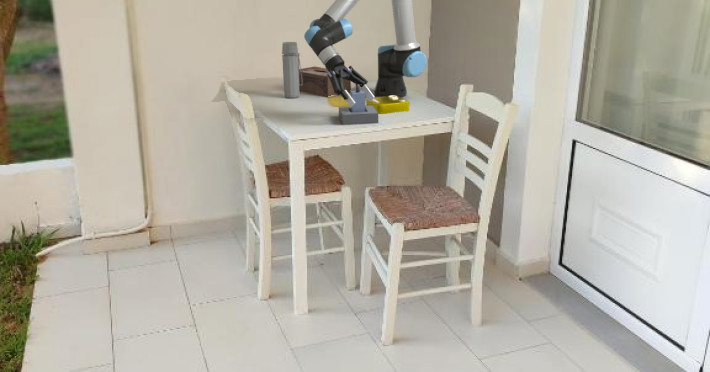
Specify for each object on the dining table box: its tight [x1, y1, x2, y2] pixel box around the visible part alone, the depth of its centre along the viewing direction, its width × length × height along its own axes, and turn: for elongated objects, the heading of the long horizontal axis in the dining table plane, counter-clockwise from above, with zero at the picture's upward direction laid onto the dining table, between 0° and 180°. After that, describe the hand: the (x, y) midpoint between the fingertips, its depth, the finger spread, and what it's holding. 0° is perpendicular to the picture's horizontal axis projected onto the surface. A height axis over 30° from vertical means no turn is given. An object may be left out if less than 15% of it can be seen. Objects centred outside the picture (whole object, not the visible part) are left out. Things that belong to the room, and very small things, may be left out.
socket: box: [338, 105, 379, 126], centre depth 264 cm, size 14×14×4 cm
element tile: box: [365, 95, 410, 115], centre depth 282 cm, size 15×15×5 cm
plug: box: [350, 84, 366, 112], centre depth 262 cm, size 5×5×13 cm
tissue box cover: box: [299, 66, 352, 98], centre depth 318 cm, size 26×14×10 cm, turn 44°
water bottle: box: [281, 41, 303, 99], centre depth 305 cm, size 9×8×25 cm
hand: (363, 102), depth 261 cm, fingers open, 12 cm apart
